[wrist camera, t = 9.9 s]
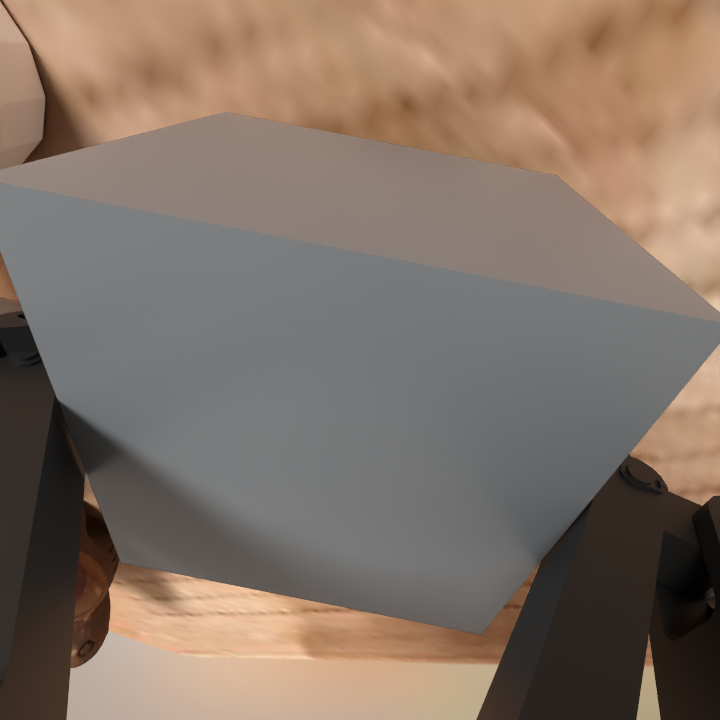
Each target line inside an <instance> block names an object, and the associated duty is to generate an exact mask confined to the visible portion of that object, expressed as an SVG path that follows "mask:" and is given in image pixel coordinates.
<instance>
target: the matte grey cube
mask: <svg viewBox="0 0 720 720" xmlns="http://www.w3.org/2000/svg"><path fill="white" fill-rule="evenodd" d="M0 252H1V255H2V258H3V260H4V263H5V265H6V268H7V271H8V273H9V276H10V278H11V281H12V283H13V286H14V289H15V291H16V294H17V296H18V299H19V301H20V304H21V307H22V309H23V312H24V314H25V317H26V319H27V322H28V325H29V327H30V330H31V332H32V335H33V337H34V340H35V343H36V345H37V348H38V350H39V353H40V356H41V358H42V361H43V363H44V366H45V368H46V371H47V374H48V376H49V379H50V381H51V384H52V386H53V389H54V392H55V394H56V397H57V399H58V402H59V404H60V407H61V410H62V412H63V415H64V417H65V420H66V422H67V425H68V428H69V430H70V433H71V435H72V438H73V441H74V443H75V446H76V448H77V451H78V453H79V456H80V459H81V461H82V464H83V466H84V469H85V471H86V474H87V477H88V479H89V482H90V484H91V487H92V489H93V492H94V495H95V497H96V500H97V502H98V505H99V507H100V510H101V513H102V515H103V518H104V520H105V523H106V526H107V528H108V531H109V533H110V536H111V538H112V541H113V544H114V546H115V549H116V551H117V554H118V556H119V559H120V562H121V563H125V564H130V565H135V566H140V567H145V568H150V569H155V570H160V571H165V572H170V573H175V574H180V575H185V576H190V577H195V578H200V579H205V580H210V581H215V582H220V583H225V584H230V585H235V586H240V587H245V588H250V589H255V590H260V591H265V592H270V593H275V594H280V595H285V596H290V597H295V598H300V599H305V600H310V601H315V602H320V603H325V604H330V605H335V606H340V607H345V608H350V609H355V610H360V611H365V612H370V613H375V614H380V615H385V616H390V617H395V618H400V619H405V620H410V621H415V622H420V623H425V624H430V625H435V626H440V627H445V628H450V629H455V630H460V631H465V632H470V633H475V634H480V635H481V634H482V633H483V631H484V630H485V629H486V628H487V627H488V625H489V624H490V623H491V622H492V621H493V619H494V618H495V617H496V616H497V614H498V613H499V612H500V611H501V610H502V608H503V607H504V606H505V605H506V603H507V602H508V601H509V600H510V599H511V597H512V596H513V595H514V594H515V592H516V591H517V590H518V589H519V588H520V586H521V585H522V584H523V583H524V582H525V580H526V579H527V578H528V577H529V575H530V574H531V573H532V572H533V571H534V569H535V568H536V567H537V566H538V564H539V563H540V562H541V561H542V560H543V558H544V557H545V556H546V555H547V553H548V552H549V551H550V550H551V549H552V547H553V546H554V545H555V544H556V542H557V541H558V540H559V539H560V538H561V536H562V535H563V534H564V533H565V532H566V530H567V529H568V528H569V527H570V525H571V524H572V523H573V522H574V521H575V519H576V518H577V517H578V516H579V514H580V513H581V512H582V511H583V510H584V508H585V507H586V506H587V505H588V503H589V502H590V501H591V500H592V499H593V497H594V496H595V495H596V494H597V492H598V491H599V490H600V489H601V488H602V486H603V485H604V484H605V483H606V482H607V480H608V479H609V478H610V477H611V475H612V474H613V473H614V472H615V471H616V469H617V468H618V467H619V466H620V464H621V463H622V462H623V461H624V460H625V458H626V457H627V456H628V455H629V453H630V452H631V451H632V450H633V449H634V447H635V446H636V445H637V444H638V442H639V441H640V440H641V439H642V438H643V436H644V435H645V434H646V433H647V432H648V430H649V429H650V428H651V427H652V425H653V424H654V423H655V422H656V421H657V419H658V418H659V417H660V416H661V414H662V413H663V412H664V411H665V410H666V408H667V407H668V406H669V405H670V403H671V402H672V401H673V400H674V399H675V397H676V396H677V395H678V394H679V392H680V391H681V390H682V389H683V388H684V386H685V385H686V384H687V383H688V382H689V380H690V379H691V378H692V377H693V375H694V374H695V373H696V372H697V371H698V369H699V368H700V367H701V366H702V364H703V363H704V362H705V361H706V360H707V358H708V357H709V356H710V355H711V353H712V352H713V351H714V350H715V349H716V347H717V346H718V345H719V344H720V312H719V311H717V310H716V309H715V308H714V307H713V306H712V305H710V304H709V303H708V302H707V301H706V300H704V299H703V298H702V297H701V296H700V295H698V294H697V293H696V292H695V291H694V290H692V289H691V288H690V287H689V286H688V285H687V284H685V283H684V282H683V281H682V280H681V279H679V278H678V277H677V276H676V275H675V274H673V273H672V272H671V271H670V270H669V269H667V268H666V267H665V266H664V265H663V264H662V263H660V262H659V261H658V260H657V259H656V258H654V257H653V256H652V255H651V254H650V253H648V252H647V251H646V250H645V249H644V248H642V247H641V246H640V245H639V244H638V243H637V242H635V241H634V240H633V239H632V238H631V237H629V236H628V235H627V234H626V233H625V232H623V231H622V230H621V229H620V228H619V227H617V226H616V225H615V224H614V223H613V222H612V221H610V220H609V219H608V218H607V217H606V216H604V215H603V214H602V213H601V212H600V211H598V210H597V209H596V208H595V207H594V206H592V205H591V204H590V203H589V202H588V201H587V200H585V199H584V198H583V197H582V196H581V195H579V194H578V193H577V192H576V191H575V190H573V189H572V188H571V187H570V186H569V185H567V184H566V183H565V182H564V181H563V180H562V179H560V178H559V177H558V176H557V175H552V174H547V173H542V172H537V171H531V170H526V169H521V168H516V167H510V166H505V165H500V164H495V163H490V162H484V161H479V160H474V159H469V158H464V157H458V156H453V155H448V154H443V153H437V152H432V151H427V150H422V149H417V148H411V147H406V146H401V145H396V144H390V143H385V142H380V141H375V140H370V139H364V138H359V137H354V136H349V135H344V134H338V133H333V132H328V131H323V130H317V129H312V128H307V127H302V126H297V125H291V124H286V123H281V122H276V121H270V120H265V119H260V118H255V117H250V116H244V115H239V114H234V113H229V112H223V113H220V114H216V115H212V116H208V117H204V118H200V119H196V120H192V121H188V122H184V123H181V124H177V125H173V126H169V127H165V128H161V129H157V130H153V131H149V132H145V133H142V134H138V135H134V136H130V137H126V138H122V139H118V140H114V141H110V142H106V143H103V144H99V145H95V146H91V147H87V148H83V149H79V150H75V151H71V152H67V153H64V154H60V155H56V156H52V157H48V158H44V159H40V160H36V161H32V162H28V163H25V164H21V165H17V166H13V167H9V168H5V169H1V170H0Z"/></svg>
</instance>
